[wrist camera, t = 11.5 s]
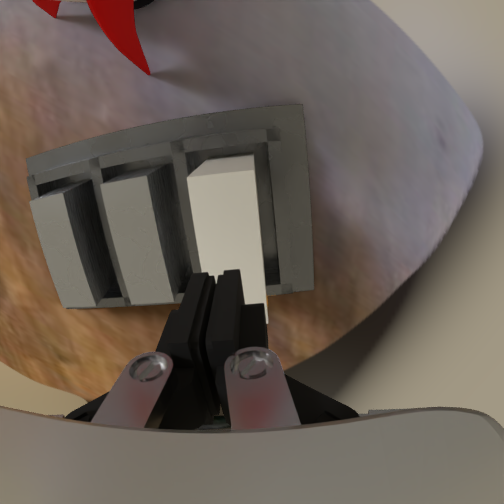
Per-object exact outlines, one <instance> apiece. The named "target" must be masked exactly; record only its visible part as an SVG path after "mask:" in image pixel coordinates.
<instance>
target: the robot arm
mask: <svg viewBox="0 0 504 504" xmlns="http://www.w3.org/2000/svg"><path fill="white" fill-rule="evenodd" d="M220 404H221V407H222V410H223V414H224V416H225V419H226V423H228V424H229V425H230V426H231V427H232V430H198V429H197V428H199V427H200V426H202V425H207V424H213V418H214V415H219V413H220ZM0 504H504V428H503V427H502V426H501V425H500V424H499V423H498V422H497V421H496V420H495V419H493V418H492V417H490V416H489V415H487V414H485V413H482V412H480V411H476V410H472V409H466V408H456V407H427V408H413V409H389V410H369V411H368V414H358V413H357V412H356V411H355V410H353V409H352V408H350V407H348V406H346V405H344V404H342V403H340V402H338V401H336V400H334V399H332V398H330V397H328V396H326V395H324V394H322V393H320V392H318V391H316V390H314V389H312V388H310V387H308V386H306V385H304V384H302V383H300V382H299V381H297V380H295V379H293V378H291V377H289V376H287V375H285V374H284V372H283V369H282V366H281V363H280V360H279V358H278V357H277V355H276V354H275V353H274V352H273V351H271V350H269V349H268V335H267V324H266V315H265V306H264V303H256V304H245V300H244V293H243V286H242V279H241V272H240V269H233V270H224V272H223V275H218V278H217V283H216V281H215V277H214V275H212V276H209V273H208V272H201V273H192V274H191V277H190V280H189V283H188V285H187V288H186V291H185V293H184V296H183V299H182V302H181V305H180V307H179V310H172V311H171V312H170V314H169V317H168V320H167V322H166V325H165V327H164V330H163V333H162V335H161V338H160V341H159V343H158V346H157V349H156V351H155V352H148V353H143V354H141V355H139V356H136V357H135V358H133V359H132V360H131V361H130V362H129V363H128V364H127V365H126V367H125V368H124V370H123V371H122V373H121V374H120V376H119V378H118V379H117V381H116V382H115V384H114V385H113V387H112V389H111V390H110V391H109V392H107V393H106V394H104V395H102V396H100V397H98V398H96V399H95V400H93V401H91V402H89V403H87V404H85V405H83V406H81V407H80V408H78V409H76V410H74V411H72V412H71V413H70V414H68V415H67V416H66V417H65V416H64V415H43V414H38V413H32V412H28V411H23V410H18V409H13V408H8V407H4V406H0Z"/></svg>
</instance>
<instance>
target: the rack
mask: <svg viewBox="0 0 504 504" xmlns="http://www.w3.org/2000/svg"><path fill="white" fill-rule="evenodd" d="M253 152H254V161H255V172H256V182H257V192H258V203H259V214H260V225H261V235H262V246H263V258H264V270H265V284H266V298H267V306H268V297H267V296H273V295H280V294H290V293H293V292H299V291H308V290H314V267H313V240H312V220H311V202H310V186H309V172H308V159H307V147H306V135H305V124H304V114H303V104H295V105H281V106H269V107H258V108H248V109H240V110H231V111H224V112H216V113H209V114H203V115H196V116H190V117H184V118H179V119H173V120H168V121H163V122H158V123H153V124H148V125H143V126H139V127H134V128H130V129H125V130H121V131H117V132H113V133H109V134H105V135H101V136H97V137H94V138H90V139H87V140H83V141H79V142H76V143H73V144H69V145H66V146H63V147H60V148H56V149H53V150H50V151H47V152H44V153H41V154H38V155H35V156H32V157H30V158H27V159H26V163H27V168H28V173H29V176H28V177H27V181H28V186H29V191H30V195H31V199H32V200H31V201H29V202H30V206H31V210H32V214H33V218H34V222H35V225H36V229H37V232H38V236H39V239H40V243H41V246H42V249H43V252H44V255H45V258H46V261H47V264H48V267H49V270H50V273H51V276H52V279H53V282H54V284H55V287H56V290H57V292H58V295H59V298H60V300H61V303H62V305H63V308H66V309H80V308H105V307H126V306H144V305H160V304H175V303H181V302H182V299H183V296H184V293H185V291H186V288H187V285H188V283H189V280H190V277H191V274H192V273H201V272H202V270H201V265H200V259H199V253H198V247H197V241H196V235H195V229H194V223H193V217H192V210H191V204H190V197H189V190H188V184H187V177H188V176H189V175H190V174H191V173H192V172H193V171H194V170H196V169H197V168H198V167H199V166H200V165H201V164H202V163H203V162H205V161H206V160H207V159H208V158H209V157H215V156H224V155H233V154H242V153H253Z"/></svg>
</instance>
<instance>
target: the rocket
mask: <svg viewBox="0 0 504 504" xmlns="http://www.w3.org/2000/svg"><path fill="white" fill-rule="evenodd" d="M32 1H33V2H34V3H35V4H36V5H37V6H39V7H40V8H41V9H43V10H44V11H46V12H47V13H48V14H50V15H51V16H52V17H54V18H56V15H57V12H58V7H59V4H60V2H61V1H70V2H84V3H88V6H89V8H90V10H91V12H92V14H93V16H94V18H95V19H96V21H97V23H98V24H99V26H100V27H101V29H102V30H103V32H104V33H105V34H106V36H107V37H108V38H109V40H110V41H111V42H112V43H113V45H114V46H115V47H116V48H117V49H118V50H119V51H120V52H121V53H122V54H123V55H124V56H126V57H127V58H128V59H129V60H130V61H132V62H133V63H134V64H135V65H136V66H138V67H139V68H140V69H141V70H142V71H144V72H145V73H146V74H147V75H150V70H149V67H148V64H147V62H146V59H145V56H144V53H143V51H142V48H141V45H140V42H139V39H138V36H137V33H136V28H135V20H134V9H138V8H141V7H143V6H145V5H147V4H149V3H151V2H152V1H154V0H32Z"/></svg>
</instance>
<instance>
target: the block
mask: <svg viewBox="0 0 504 504" xmlns="http://www.w3.org/2000/svg"><path fill="white" fill-rule="evenodd" d="M187 184H188V190H189V197H190V204H191V210H192V217H193V223H194V229H195V235H196V241H197V247H198V253H199V259H200V265H201V270H202V272H208V273H209V276H212V275H214V277H215V281H216V283H217V278H218V275H223V272H224V270H233V269H240V272H241V279H242V286H243V293H244V300H245V304H256V303H264V306H265V315H266V324H268V312H267V298H266V284H265V270H264V258H263V246H262V235H261V225H260V214H259V203H258V192H257V182H256V172H255V161H254V152H253V153H242V154H233V155H224V156H215V157H209V158H208V159H207V160H206V161H205V162H203V163H202V164H201V165H200V166H199V167H198V168H197V169H196V170H194V171H193V172H192V173H191V174H190V175H189V176H188V177H187Z"/></svg>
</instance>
